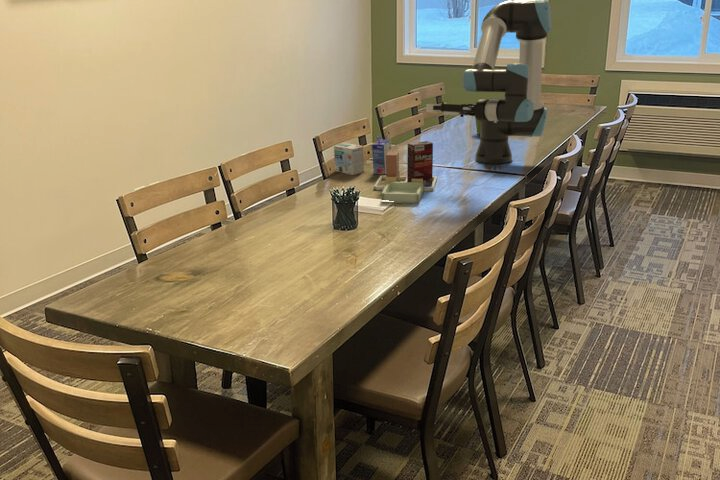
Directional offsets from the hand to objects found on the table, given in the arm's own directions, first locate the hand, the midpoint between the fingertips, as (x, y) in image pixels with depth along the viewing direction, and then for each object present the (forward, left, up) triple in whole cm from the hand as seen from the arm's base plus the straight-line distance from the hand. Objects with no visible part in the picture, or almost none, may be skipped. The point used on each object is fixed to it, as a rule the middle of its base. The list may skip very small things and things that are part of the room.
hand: (435, 109), depth 252 cm
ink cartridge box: (+22, -12, -27) cm, 37 cm away
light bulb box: (+36, -11, -27) cm, 46 cm away
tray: (+9, +23, -27) cm, 37 cm away
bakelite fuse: (+15, +7, -27) cm, 32 cm away
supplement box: (+5, +7, -27) cm, 29 cm away
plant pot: (-17, -89, -27) cm, 95 cm away
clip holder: (+10, +7, -27) cm, 30 cm away
